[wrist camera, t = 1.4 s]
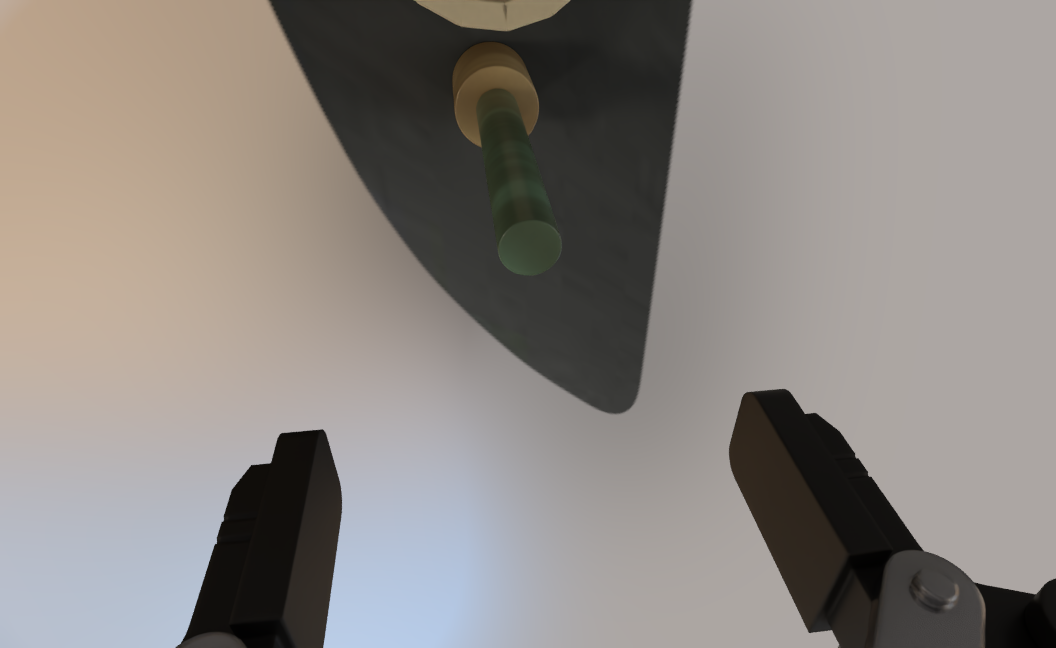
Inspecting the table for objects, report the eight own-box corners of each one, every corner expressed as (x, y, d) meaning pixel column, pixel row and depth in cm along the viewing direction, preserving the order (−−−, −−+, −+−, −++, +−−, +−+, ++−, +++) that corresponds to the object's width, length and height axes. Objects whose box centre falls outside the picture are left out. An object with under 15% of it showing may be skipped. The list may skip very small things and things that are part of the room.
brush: (473, 26, 32) (503, 167, 18) (541, 64, 33) (618, 221, 19) (440, 98, 34) (444, 275, 20) (506, 131, 35) (552, 317, 21)
